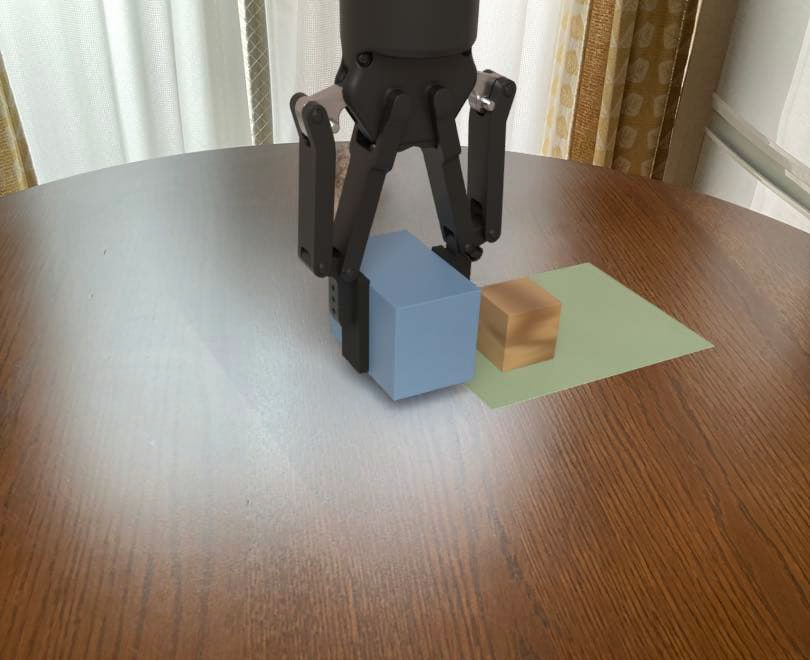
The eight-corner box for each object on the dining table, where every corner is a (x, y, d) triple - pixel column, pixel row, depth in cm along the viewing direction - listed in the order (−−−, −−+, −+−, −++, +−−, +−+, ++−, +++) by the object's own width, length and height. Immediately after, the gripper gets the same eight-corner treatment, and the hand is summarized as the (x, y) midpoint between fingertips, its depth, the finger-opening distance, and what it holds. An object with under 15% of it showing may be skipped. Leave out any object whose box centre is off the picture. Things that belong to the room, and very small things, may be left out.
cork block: (520, 331, 71) (527, 276, 68) (554, 358, 68) (562, 302, 65) (470, 344, 69) (474, 288, 66) (502, 372, 66) (508, 315, 63)
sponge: (473, 380, 61) (481, 289, 57) (393, 401, 59) (396, 309, 55) (403, 314, 68) (406, 229, 64) (329, 331, 66) (326, 244, 61)
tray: (586, 274, 81) (588, 261, 80) (711, 359, 71) (715, 345, 70) (384, 322, 74) (384, 308, 73) (490, 424, 63) (492, 409, 62)
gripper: (522, -61, 54) (487, 302, 69) (212, -42, 47) (249, 357, 62) (600, -37, 49) (544, 347, 64) (267, -12, 42) (293, 413, 57)
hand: (399, 351), depth 63 cm, fingers closed on sponge, 6 cm apart
